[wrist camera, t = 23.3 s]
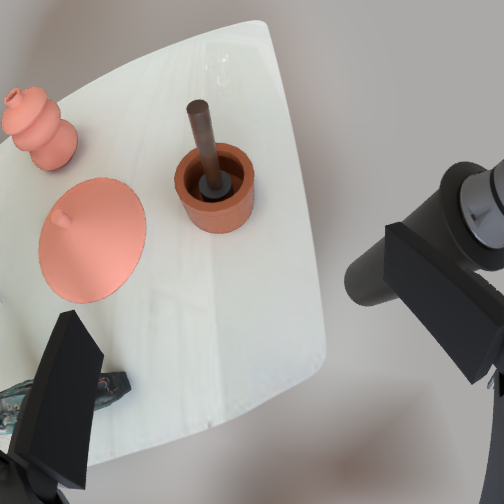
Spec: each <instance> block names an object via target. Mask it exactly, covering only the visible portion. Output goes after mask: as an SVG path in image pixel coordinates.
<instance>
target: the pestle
mask: <svg viewBox="0 0 504 504" xmlns="http://www.w3.org/2000/svg"><path fill="white" fill-rule="evenodd" d="M187 113H188V117H189V121H190V124H191V128H192V132H193V135H194V139H195V143H196V146H197V150H198V153H199V157H200V160H201V164H202V167H203V171H204V174H203V175H202V177H201V178H200V180H199V190H200V193H201V196H202V199H203V201H204V202H208V203H216V202H221V201H224V200H226V199H228V198H230V197H232V196H233V195H234V194H233V187H232V180H231V177H230V176H229V174H228V173H226V172H225V171H223V170H220V166H219V160H218V155H217V150H216V144H215V139H214V134H213V128H212V123H211V117H210V112H209V106H208V103H207V102H206V101H204V100H194V101H192V102H190V103H189V104H188V106H187Z"/></svg>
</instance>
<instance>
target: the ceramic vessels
mask: <svg viewBox="0 0 504 504" xmlns="http://www.w3.org/2000/svg"><path fill="white" fill-rule="evenodd" d="M4 103H5V104H6V105H7V108H6V110H5V112H4V114H3V118H2V128H3V130H4V132H5V133H6V134H10V135H12V140H13V142H14V144H15V146H16V147H17V148H19V149H20V150H22V151H30V156H31V159H32V161H33V162H34V164H35V165H36V166H37V167H39V168H40V169H42V170H48V171H50V170H55V169H58V168H60V167H62V166H63V165H65V164H66V163H67V162H68V161H69V160H70V159H71V157H72V156H73V154H74V152H75V150H76V147H77V142H78V137H77V132H76V130H75V128H74V126H73V125H72V124H71V123H69V122H68V121H66V120H64V119H60V118H61V112H60V109H59V107H58V105H57V103H55V102H54V101H52V100H51V99H47V94H46V91H45V90H43V89H42V88H41V87H31V88H28V89H26V90H24V91H22V92H21V91H20V90H19V88H15V89H13V90H12V91H11V92H10V93H9V94H8V95H7V96H6V98H5V100H4ZM145 236H146V219H145V214H144V209H143V207H142V205H141V202H140V200H139V198H138V197H137V195H136V194H135V193H134V191H133V190H132V189H130V188H129V187H128V186H127V185H126V184H124V183H122V182H120V181H117V180H115V179H109V178H95V179H91V180H87V181H84V182H82V183H80V184H78V185H76V186H74V187H73V188H71V189H70V190H68V191H67V192H66V193H65V194H64V195H63V196H62V197H61V198H60V199H59V200H58V201H57V202H56V204H55V205H54V206H53V207H52V209H51V211H50V212H49V214H48V216H47V218H46V220H45V223H44V225H43V228H42V231H41V235H40V240H39V263H40V267H41V270H42V274H43V276H44V278H45V280H46V282H47V284H48V285H49V286H50V287H51V289H52V290H53V291H54V292H55V293H56V294H58V295H59V296H60V297H62V298H64V299H66V300H68V301H71V302H76V303H90V302H94V301H97V300H100V299H103V298H105V297H107V296H108V295H110V294H112V293H113V292H115V291H116V290H117V289H118V288H119V287H120V286H121V285H123V284H124V282H125V281H126V280H127V279H128V277H129V276H130V275H131V274H132V272H133V270H134V269H135V267H136V265H137V263H138V261H139V259H140V256H141V253H142V250H143V247H144V242H145Z"/></svg>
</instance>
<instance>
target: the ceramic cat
mask: <svg viewBox="0 0 504 504" xmlns="http://www.w3.org/2000/svg"><path fill="white" fill-rule="evenodd" d="M33 381H34V379H33V380H27V381H24V382H23V383H19V384H16V385H15V386H12V387H11V388H9V389H7V390H4V391H2V392H0V435H2V434H11V433H13V429H14V426H15V422H17V420H16V419H17V415H18V413H19V409H20V405H21V402H22V399H23V397H24V396H25V394H26V393H27V391H28V390H29V388H31V387H32V384H33ZM130 390H131V386H130V383H129V381H128V379H127V376H126V373H125V372H111V373H100V378H99V383H98V389H97V394H96V400H95V406H94V411H96V410H98V409H101V408H104V407H107V406H109V405H110V404H112V403H113V402H115V401H117V400H119V399H120V398H121V397H122V396H123V395H124V394H126V393H127V392H129V391H130Z"/></svg>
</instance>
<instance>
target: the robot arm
mask: <svg viewBox="0 0 504 504" xmlns="http://www.w3.org/2000/svg"><path fill="white" fill-rule="evenodd" d="M457 202H458V209H459V213H460V216H461V219H462V222H463V224H464V226H465V228H466V230H467V231H468V233H469V234H470V236H471V237H472V238H473V239H474V240H475V241H476V242H477V243H478V244H479V245H480V246H482V247H483V248H485V249H488V250H498V249H500V248H502V247H504V159H503V160H502V161H501V162H500V163H499V164H498V165H496V166H495V167H494V168H493V169H492V170H488V171H486V172H482V171H480V172H477V174H473V175H471V176H469V177H468V178H467V179H465V180H464V181H463V182H462V183H461V185H460V187H459V190H458V196H457ZM383 280H384V281H385V282H386V283H387V284H388V285H389V287H390V288H391V289H392V290H393V291H394V292H395V293H396V294H397V295H398V296H399V298H400V299H401V300H402V301H403V302H404V303H405V304H406V305H407V307H409V309H410V310H411V311H412V312H413V313H414V314H415V316H416V317H417V318H418V319H419V320H420V321H421V323H422V324H423V325H424V326H425V327H426V328H427V330H428V331H429V332H430V333H431V334H432V336H433V337H434V338H435V339H436V340H437V342H438V343H439V344H440V345H441V346H442V347H443V349H444V350H445V351H446V353H447V354H448V355H449V356H450V358H451V359H452V360H453V361H454V362H455V364H456V365H457V366H458V368H459V369H460V370H461V371H462V373H463V374H464V375H465V377H466V378H467V379H468V381H469V382H470V383H471V384H474V383H475V382H477V381H478V380H480V379H481V378H483V377H484V376H485V375H487V373H488V371H489V369H490V367H491V366H492V364H494V365H495V367H496V368H497V369H496V371H495V373H494V374H493V376H492V378H491V379H490V381H489V383H488V386H487V389H489V388H490V387H491V385H492V384H493V382H494V387H493V389H494V408H493V424H492V434H491V443H490V451H489V457H488V464H487V470H486V475H485V480H484V486H483V490H482V494H481V498H480V502H479V504H504V296H503V295H502V294H501V293H500V292H499V291H496V288H495V287H493V286H492V285H491V284H489V282H488V281H487V280H485V279H484V278H483V277H482V276H480V275H479V274H477V273H475V272H473V271H471V270H468V269H466V270H464V271H463V270H462V269H461V268H460V267H459V266H457V265H456V264H455V263H454V262H452V261H451V260H450V259H449V258H448V257H446V256H445V255H444V254H442V253H441V252H440V251H439V250H437V249H436V248H435V247H434V246H432V245H431V244H430V243H428V242H427V241H426V240H424V239H423V238H422V237H420V236H419V235H418V234H416V233H415V232H414V231H412V230H411V229H410V228H408V227H407V226H405V225H404V224H403V223H401V222H396V223H393V224H390V225H386V226H385V256H384V276H383ZM103 358H104V354H103V353H102V352H101V350H100V349H99V347H98V346H97V344H96V343H95V341H94V340H93V338H92V337H91V335H90V334H89V332H88V331H87V329H86V328H85V326H84V325H83V323H82V321H81V320H80V318H79V317H78V315H77V313H76V312H75V310H71V311H67V312H63V313H60V315H59V318H58V320H57V322H56V324H55V327H54V329H53V331H52V334H51V336H50V339H49V341H48V344H47V346H46V349H45V351H44V354H43V356H42V359H41V362H40V364H39V367H38V370H37V373H36V375H35V378H34V381H33V384H32V387H31V388H29V390H28V391H27V393H26V394H25V396H24V397H23V399H22V402H21V405H20V409H19V413H18V415H17V419H16V420H17V422H15V426H14V429H13V433H12V437H11V441H10V445H9V449H8V453H7V455H6V454H5V453H4V452H2V451H1V450H0V504H69V502H68V500H67V499H66V497H65V496H64V494H63V493H62V492H61V490H60V489H58V488H57V485H58V482H59V483H60V484H62V485H64V486H65V487H67V488H71V489H83V490H85V485H86V471H87V460H88V451H89V442H90V434H91V426H92V419H93V413H94V406H95V400H96V394H97V389H98V383H99V378H100V373H101V368H102V363H103Z"/></svg>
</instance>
